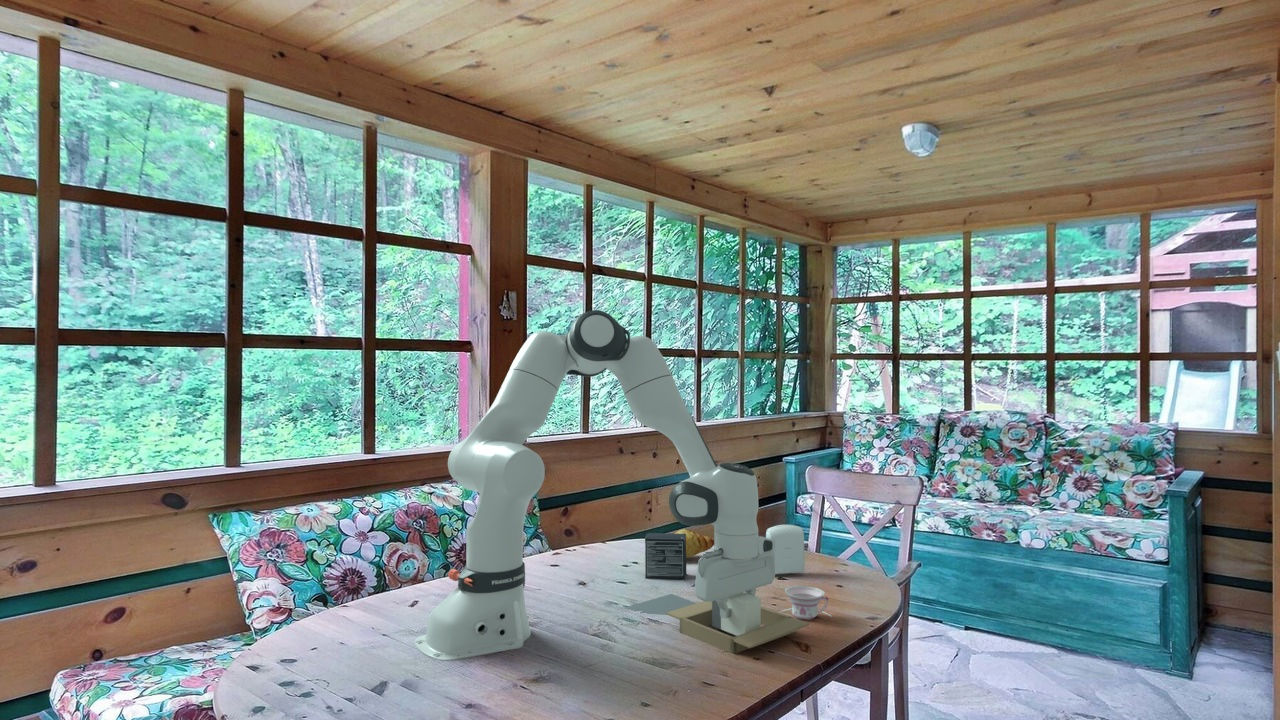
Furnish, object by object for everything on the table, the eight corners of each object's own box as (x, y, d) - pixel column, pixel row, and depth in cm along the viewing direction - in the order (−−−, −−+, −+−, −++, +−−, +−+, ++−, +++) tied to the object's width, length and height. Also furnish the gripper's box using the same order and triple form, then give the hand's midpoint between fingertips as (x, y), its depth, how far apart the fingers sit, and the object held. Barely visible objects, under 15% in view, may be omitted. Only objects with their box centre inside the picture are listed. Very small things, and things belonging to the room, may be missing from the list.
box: (745, 639, 140) (745, 602, 140) (712, 625, 147) (712, 591, 147) (760, 633, 143) (760, 598, 143) (727, 620, 150) (727, 587, 150)
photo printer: (769, 575, 187) (769, 527, 187) (763, 570, 191) (763, 524, 191) (806, 573, 189) (806, 526, 189) (800, 568, 193) (800, 522, 193)
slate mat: (664, 626, 152) (664, 623, 152) (625, 609, 162) (625, 607, 162) (711, 611, 161) (711, 608, 161) (671, 596, 171) (671, 593, 171)
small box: (687, 572, 190) (686, 532, 190) (686, 580, 183) (686, 538, 183) (646, 571, 191) (646, 531, 191) (644, 578, 184) (644, 537, 184)
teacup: (772, 625, 152) (772, 596, 152) (781, 607, 163) (781, 580, 163) (830, 633, 148) (830, 603, 148) (836, 614, 159) (836, 586, 159)
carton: (750, 668, 131) (750, 646, 131) (666, 632, 148) (666, 612, 148) (809, 643, 142) (809, 623, 142) (725, 612, 160) (725, 594, 160)
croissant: (650, 572, 200) (655, 552, 196) (639, 545, 208) (643, 525, 204) (719, 561, 208) (725, 541, 203) (706, 536, 215) (711, 516, 211)
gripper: (710, 557, 136) (710, 630, 136) (780, 540, 149) (780, 607, 149) (687, 550, 141) (687, 621, 141) (757, 534, 154) (757, 599, 154)
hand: (735, 613), depth 145 cm, fingers closed on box, 4 cm apart
